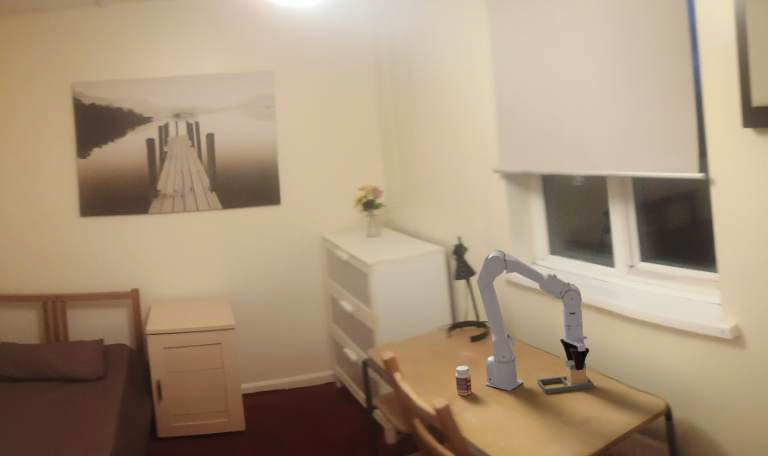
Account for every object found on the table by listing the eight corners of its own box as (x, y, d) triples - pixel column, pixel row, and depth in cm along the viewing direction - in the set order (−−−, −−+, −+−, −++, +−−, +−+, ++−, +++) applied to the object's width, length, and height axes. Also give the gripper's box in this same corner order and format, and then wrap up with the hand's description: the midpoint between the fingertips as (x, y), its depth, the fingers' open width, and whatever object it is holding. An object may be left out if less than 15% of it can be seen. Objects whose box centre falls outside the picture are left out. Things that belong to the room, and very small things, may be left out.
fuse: (571, 386, 202) (569, 365, 201) (566, 381, 206) (565, 361, 205) (586, 384, 203) (585, 363, 202) (582, 379, 207) (580, 359, 205)
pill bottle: (471, 395, 205) (469, 370, 204) (456, 395, 206) (454, 371, 204) (472, 389, 209) (470, 364, 208) (457, 389, 210) (455, 365, 209)
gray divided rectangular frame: (545, 393, 200) (544, 389, 200) (537, 383, 208) (537, 379, 208) (593, 387, 201) (593, 383, 200) (584, 378, 209) (584, 373, 208)
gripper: (594, 329, 194) (596, 372, 197) (577, 315, 209) (579, 355, 211) (571, 332, 194) (573, 374, 196) (556, 318, 209) (558, 358, 211)
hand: (575, 365), depth 204 cm, fingers open, 7 cm apart
